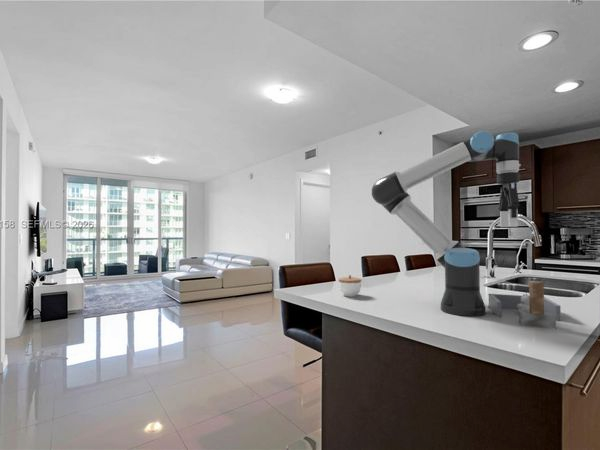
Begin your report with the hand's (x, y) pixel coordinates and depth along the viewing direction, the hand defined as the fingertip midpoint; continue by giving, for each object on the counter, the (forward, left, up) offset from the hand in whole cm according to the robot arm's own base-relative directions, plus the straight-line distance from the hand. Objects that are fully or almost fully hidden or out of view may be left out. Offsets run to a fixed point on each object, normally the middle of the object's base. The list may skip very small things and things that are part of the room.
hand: (508, 226), depth 125 cm
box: (+2, -8, -32) cm, 33 cm away
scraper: (+2, -24, -32) cm, 40 cm away
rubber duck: (+3, -9, -32) cm, 33 cm away
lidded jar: (-64, +3, -32) cm, 72 cm away
